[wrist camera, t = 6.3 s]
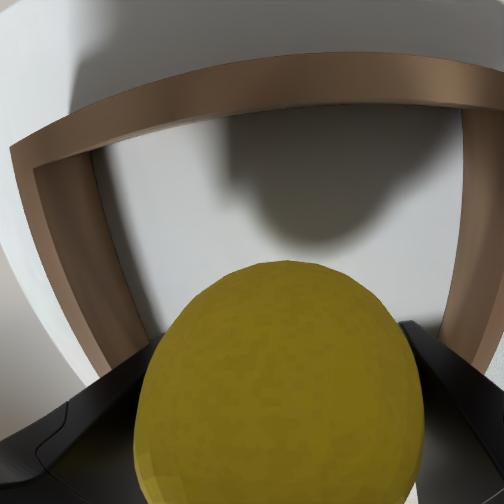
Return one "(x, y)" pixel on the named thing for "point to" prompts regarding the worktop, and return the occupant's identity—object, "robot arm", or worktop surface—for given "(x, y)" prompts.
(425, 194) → the worktop surface
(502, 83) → the box
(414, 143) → the worktop surface
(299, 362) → the lemon
